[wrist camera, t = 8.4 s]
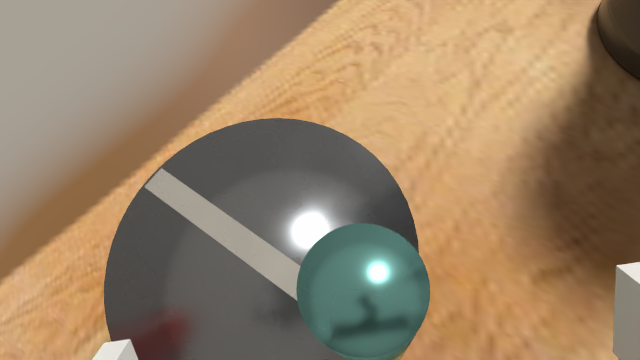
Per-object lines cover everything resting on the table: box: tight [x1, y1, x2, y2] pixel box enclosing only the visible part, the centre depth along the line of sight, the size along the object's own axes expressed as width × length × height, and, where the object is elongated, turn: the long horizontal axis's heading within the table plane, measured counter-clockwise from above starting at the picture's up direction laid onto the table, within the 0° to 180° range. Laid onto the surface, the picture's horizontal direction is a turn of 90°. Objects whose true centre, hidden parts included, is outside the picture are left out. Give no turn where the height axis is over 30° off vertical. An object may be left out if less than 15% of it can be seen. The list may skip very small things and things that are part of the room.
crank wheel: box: [104, 118, 430, 360], centre depth 19 cm, size 16×16×18 cm
